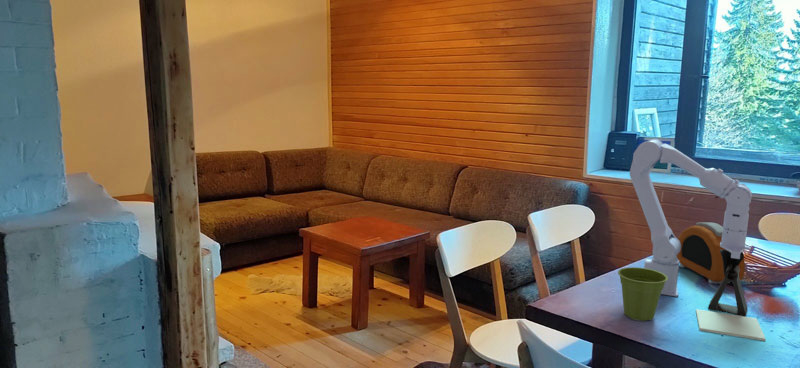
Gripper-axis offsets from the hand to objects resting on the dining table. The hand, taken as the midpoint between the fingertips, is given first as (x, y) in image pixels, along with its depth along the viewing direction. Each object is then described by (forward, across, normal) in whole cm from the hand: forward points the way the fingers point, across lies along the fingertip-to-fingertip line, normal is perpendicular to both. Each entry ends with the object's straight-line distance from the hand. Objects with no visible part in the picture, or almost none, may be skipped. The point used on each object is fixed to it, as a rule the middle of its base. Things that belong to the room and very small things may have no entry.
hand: (728, 277), depth 165 cm
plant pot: (+8, -21, +22) cm, 31 cm away
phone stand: (+8, -5, 0) cm, 9 cm away
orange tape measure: (+8, +26, +3) cm, 27 cm away
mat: (+7, -18, +1) cm, 19 cm away
